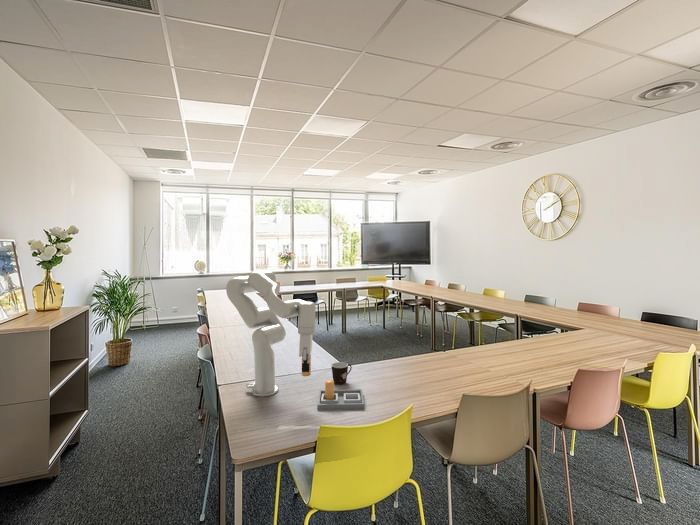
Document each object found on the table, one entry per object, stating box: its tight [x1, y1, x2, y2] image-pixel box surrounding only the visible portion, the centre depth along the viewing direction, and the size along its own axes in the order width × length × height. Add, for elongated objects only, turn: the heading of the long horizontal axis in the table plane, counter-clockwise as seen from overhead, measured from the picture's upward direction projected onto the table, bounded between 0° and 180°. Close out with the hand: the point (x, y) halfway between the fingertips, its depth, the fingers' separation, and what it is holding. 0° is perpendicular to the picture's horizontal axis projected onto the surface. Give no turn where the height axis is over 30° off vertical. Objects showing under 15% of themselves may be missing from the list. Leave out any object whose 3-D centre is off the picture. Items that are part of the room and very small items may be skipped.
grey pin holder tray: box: [316, 389, 365, 411], centre depth 153 cm, size 20×15×3 cm
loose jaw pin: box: [301, 354, 312, 377], centre depth 152 cm, size 4×4×9 cm
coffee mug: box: [331, 361, 353, 386], centre depth 175 cm, size 12×9×10 cm
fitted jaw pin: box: [324, 379, 335, 400], centre depth 152 cm, size 4×4×9 cm
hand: (306, 369), depth 152 cm, fingers closed on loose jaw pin, 4 cm apart
